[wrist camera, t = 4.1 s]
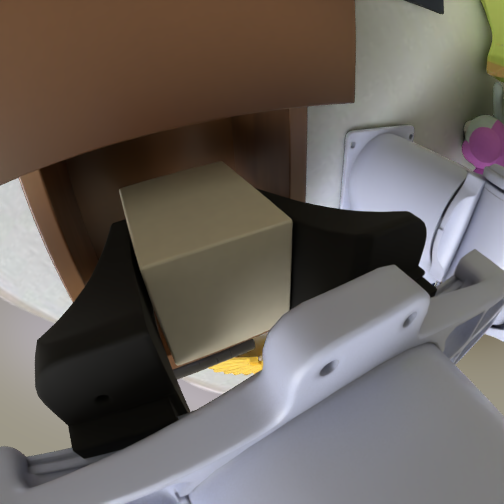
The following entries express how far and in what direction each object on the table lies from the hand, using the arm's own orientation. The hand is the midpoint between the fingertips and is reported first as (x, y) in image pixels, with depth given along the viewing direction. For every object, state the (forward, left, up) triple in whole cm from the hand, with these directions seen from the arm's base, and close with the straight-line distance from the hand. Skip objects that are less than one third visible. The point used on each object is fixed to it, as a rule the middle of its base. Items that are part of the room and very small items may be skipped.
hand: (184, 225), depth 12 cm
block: (0, 0, -1) cm, 0 cm away
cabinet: (+12, 0, -7) cm, 14 cm away
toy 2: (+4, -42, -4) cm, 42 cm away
